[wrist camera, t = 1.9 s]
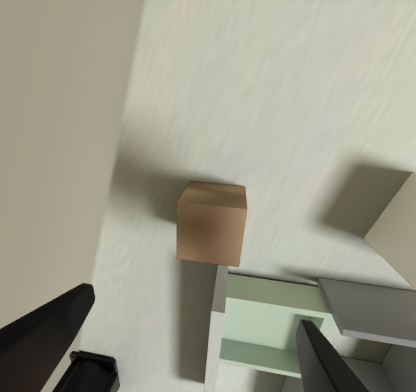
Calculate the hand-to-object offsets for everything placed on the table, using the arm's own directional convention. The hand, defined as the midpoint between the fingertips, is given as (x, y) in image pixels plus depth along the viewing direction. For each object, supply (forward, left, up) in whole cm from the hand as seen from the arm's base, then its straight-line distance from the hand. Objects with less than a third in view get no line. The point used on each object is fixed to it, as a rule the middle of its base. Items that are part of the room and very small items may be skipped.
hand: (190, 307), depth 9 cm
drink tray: (+5, -16, -10) cm, 19 cm away
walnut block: (0, 0, -10) cm, 10 cm away
